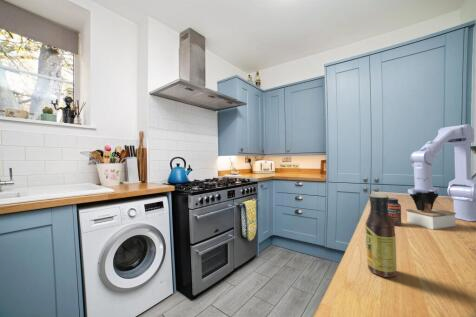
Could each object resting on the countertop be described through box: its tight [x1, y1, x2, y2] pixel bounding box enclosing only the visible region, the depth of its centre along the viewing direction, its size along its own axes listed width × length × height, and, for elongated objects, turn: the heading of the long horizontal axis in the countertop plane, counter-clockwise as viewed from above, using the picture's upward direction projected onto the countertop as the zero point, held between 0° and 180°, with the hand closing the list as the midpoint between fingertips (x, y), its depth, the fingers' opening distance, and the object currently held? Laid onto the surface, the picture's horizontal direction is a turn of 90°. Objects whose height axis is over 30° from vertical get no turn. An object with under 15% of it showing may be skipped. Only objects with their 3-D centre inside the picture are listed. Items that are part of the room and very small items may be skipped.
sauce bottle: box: [365, 193, 398, 278], centre depth 51 cm, size 7×6×20 cm
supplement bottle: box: [388, 197, 402, 227], centre depth 88 cm, size 6×6×11 cm
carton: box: [406, 211, 456, 230], centre depth 86 cm, size 12×10×5 cm
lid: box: [405, 203, 456, 217], centre depth 86 cm, size 12×10×4 cm
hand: (424, 209), depth 85 cm, fingers open, 4 cm apart
